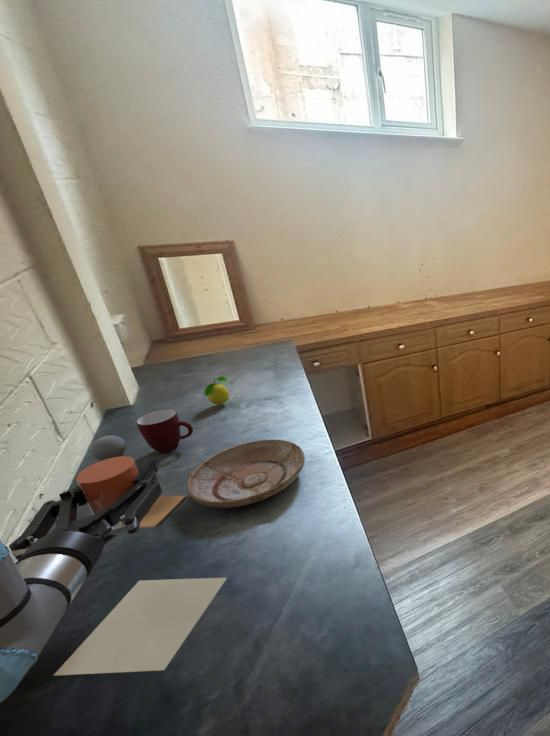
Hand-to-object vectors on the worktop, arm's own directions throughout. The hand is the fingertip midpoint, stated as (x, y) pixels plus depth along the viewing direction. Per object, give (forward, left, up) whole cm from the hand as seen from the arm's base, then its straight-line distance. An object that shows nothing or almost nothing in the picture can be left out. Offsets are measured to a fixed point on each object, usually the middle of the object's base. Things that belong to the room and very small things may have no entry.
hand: (126, 469), depth 72 cm
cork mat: (-9, +8, -18) cm, 21 cm away
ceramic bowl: (+9, +17, -18) cm, 27 cm away
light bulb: (-26, +23, -18) cm, 39 cm away
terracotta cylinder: (+2, -5, -6) cm, 8 cm away
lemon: (-22, +57, -18) cm, 63 cm away
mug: (-20, +33, -18) cm, 42 cm away
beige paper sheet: (+11, -16, -18) cm, 27 cm away
